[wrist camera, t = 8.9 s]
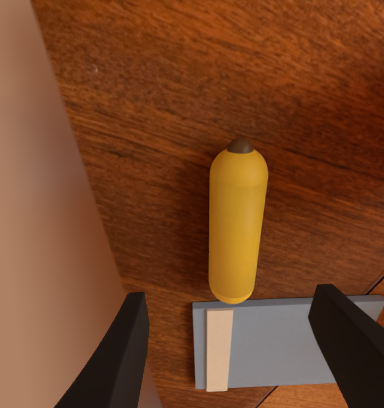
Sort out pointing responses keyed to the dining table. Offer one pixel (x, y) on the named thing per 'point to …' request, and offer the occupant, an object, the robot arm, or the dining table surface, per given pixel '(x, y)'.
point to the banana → (235, 220)
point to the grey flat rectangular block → (261, 343)
